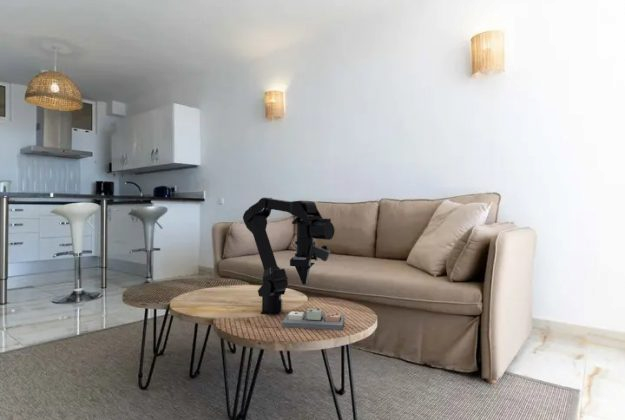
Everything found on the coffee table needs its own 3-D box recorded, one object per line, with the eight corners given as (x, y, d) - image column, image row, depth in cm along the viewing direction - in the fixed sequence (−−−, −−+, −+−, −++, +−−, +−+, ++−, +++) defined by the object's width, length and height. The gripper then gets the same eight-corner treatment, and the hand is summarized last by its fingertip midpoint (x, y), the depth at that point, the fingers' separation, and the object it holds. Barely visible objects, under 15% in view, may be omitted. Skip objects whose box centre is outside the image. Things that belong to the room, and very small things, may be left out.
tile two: (306, 319, 128) (306, 311, 128) (308, 315, 132) (308, 307, 132) (320, 320, 127) (320, 311, 127) (321, 316, 132) (322, 308, 132)
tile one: (288, 322, 129) (288, 314, 129) (290, 318, 133) (290, 310, 133) (301, 323, 128) (302, 315, 128) (304, 319, 133) (304, 311, 133)
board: (282, 326, 125) (282, 322, 125) (289, 316, 137) (289, 312, 137) (342, 330, 123) (342, 325, 123) (344, 319, 135) (344, 315, 135)
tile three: (325, 324, 127) (325, 316, 127) (326, 320, 132) (326, 312, 132) (339, 325, 127) (339, 316, 127) (339, 321, 131) (340, 313, 131)
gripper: (324, 240, 123) (324, 291, 123) (332, 236, 141) (331, 280, 141) (289, 239, 125) (289, 289, 125) (301, 236, 143) (301, 279, 143)
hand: (304, 284), depth 133 cm, fingers closed
